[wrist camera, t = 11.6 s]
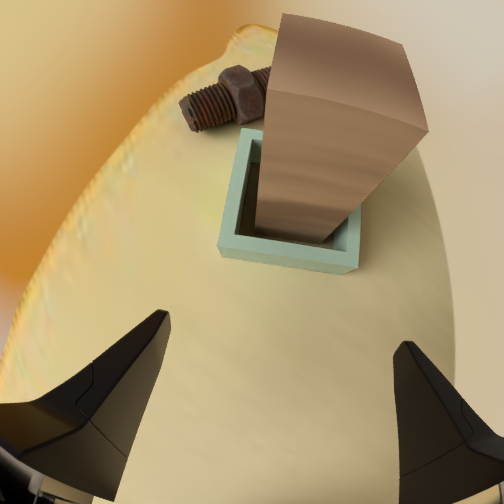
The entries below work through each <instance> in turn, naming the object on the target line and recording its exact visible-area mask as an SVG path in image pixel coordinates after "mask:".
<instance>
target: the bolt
mask: <svg viewBox="0 0 504 504" xmlns="http://www.w3.org/2000/svg"><path fill="white" fill-rule="evenodd" d="M270 71H271V66H270V67H266V68H265V69H261V70H257V71H256V70H255V71H253V72H250V71H249V70H248V69H246V68H245V67H243V66H240V65H237V66H233V67H230V68H227V69H225V70H224V71H223V72H222V73H221V74H220V75H219V77H218V82H219V83H217V84H213V85H212V86H208V88H207V87H205V88H204V90H203V89H200V92H199V91H197V90H196V93H193V92H192V94H191V95H190V94H188V95H187V97H186V96H185V97H183V99H182V100H180V101H179V105H180V107H181V109H182V113H183V115H184V117H185V119H186V121H187V123H188V125H189V127H190V129H191V131H195V132H197V133H198V131H199V130H200V131H202V130H203V129H204V130H206V128H207V127H208V128H210V127H211V125H212V126H213V127H214V125H215V124H217V125H218V124H219V122H220V123H223V121H225V122H226V121H227V119H228V120H231V118H233V119H234V121H235V122H236V123H238V124H240V125H242V124H245V123H248V122H250V121H253V120H256V119H258V118H259V117H261V116H262V115H263V113H264V107H265V105H266V94H267V86H268V81H269V76H270Z"/></svg>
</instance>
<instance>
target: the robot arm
mask: <svg viewBox="0 0 504 504" xmlns="http://www.w3.org/2000/svg"><path fill="white" fill-rule="evenodd" d="M170 331H171V322H170V314H169V312H168V311H166V310H161V309H158V310H156V311H155V312H154V313H152V314H151V315H150V316H149V317H147V318H146V319H145V320H144V321H142V322H141V323H140V324H138V325H137V326H136V327H135V328H133V329H132V330H131V331H130V332H128V333H127V334H126V335H125V336H123V337H122V338H121V339H120V340H118V341H117V342H116V343H115V344H113V345H112V346H111V347H110V348H108V349H107V350H106V351H105V352H103V353H102V354H101V355H100V356H98V357H97V358H96V359H95V360H93V361H92V363H90V364H88V365H87V366H86V367H85V368H83V369H82V370H81V371H79V372H78V373H77V374H76V375H74V376H73V377H71V378H70V379H68V380H67V381H65V382H64V383H62V384H61V385H59V386H58V387H56V388H54V389H53V390H51V391H50V392H48V393H46V394H45V395H43V396H42V397H40V398H38V399H36V400H33V401H30V402H22V403H1V404H0V504H92V501H93V498H94V496H96V497H99V498H102V499H105V500H109V501H112V502H114V500H115V497H116V494H117V490H118V487H119V484H120V481H121V478H122V475H123V472H124V469H125V466H126V463H127V460H128V459H127V458H128V456H129V454H130V451H131V448H132V445H133V442H134V439H135V436H136V433H137V431H138V428H139V425H140V422H141V419H142V417H143V414H144V411H145V409H146V406H147V403H148V400H149V398H150V395H151V392H152V390H153V387H154V385H155V382H156V379H157V377H158V374H159V372H160V369H161V366H162V362H163V358H164V354H165V350H166V347H167V343H168V339H169V335H170ZM393 368H394V394H395V403H396V413H397V425H398V440H399V466H400V479H399V504H504V437H501V436H499V435H497V434H496V433H494V432H493V431H492V429H491V428H490V427H489V426H488V425H487V424H486V423H485V422H484V421H483V420H482V419H481V418H480V417H479V416H478V415H477V414H476V413H475V412H474V410H473V409H472V408H471V407H470V406H469V405H468V404H467V402H466V401H465V400H464V399H463V398H462V397H461V395H460V394H459V393H458V392H457V390H456V389H455V388H454V387H453V386H452V385H451V383H450V382H449V381H448V380H447V379H446V378H445V376H444V375H443V374H442V373H441V372H440V371H439V370H438V368H437V367H436V366H435V365H434V364H433V363H432V362H431V361H430V360H429V358H428V357H427V356H426V355H425V354H424V353H423V352H422V351H421V350H420V348H419V347H418V346H417V345H416V344H415V343H414V342H413V341H403V342H402V343H401V344H400V346H399V347H398V349H397V350H396V351H395V353H394V356H393Z"/></svg>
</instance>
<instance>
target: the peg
mask: <svg viewBox="0 0 504 504" xmlns="http://www.w3.org/2000/svg"><path fill="white" fill-rule="evenodd" d="M428 132H429V131H428V126H427V122H426V118H425V114H424V110H423V106H422V103H421V99H420V95H419V92H418V89H417V85H416V82H415V79H414V76H413V73H412V70H411V67H410V65H409V62H408V59H407V56H406V54H405V51H404V48H403V46H402V44H399V43H396V42H394V41H391V40H389V39H386V38H383V37H380V36H377V35H374V34H371V33H368V32H365V31H362V30H358V29H355V28H351V27H348V26H344V25H340V24H336V23H332V22H328V21H323V20H319V19H314V18H308V17H303V16H297V15H291V14H284V13H283V15H282V19H281V23H280V28H279V33H278V37H277V42H276V47H275V52H274V57H273V62H272V66H271V71H270V76H269V81H268V86H267V94H266V105H265V117H264V128H263V139H262V151H261V162H260V173H259V185H258V196H257V207H256V218H255V230H254V234H256V235H263V236H269V237H275V238H281V239H288V240H294V241H300V242H306V243H312V244H318V245H319V244H320V243H321V242H322V241H323V240H324V239H325V238H326V237H327V236H328V235H330V234H331V233H332V232H333V231H334V230H335V229H336V228H337V227H338V226H339V225H340V224H341V223H342V222H343V221H344V220H345V219H346V218H347V217H348V216H349V215H350V214H351V213H352V212H353V211H354V210H355V209H356V208H357V207H358V206H359V205H360V204H361V203H362V202H363V201H364V200H365V199H366V198H367V197H368V196H369V195H370V194H371V193H372V191H373V190H374V189H375V188H376V187H377V186H378V185H379V184H380V183H381V182H382V181H383V180H384V179H385V178H386V177H387V176H388V175H389V174H390V173H391V172H392V171H393V170H394V169H395V168H396V166H397V165H398V164H399V163H400V162H401V161H402V160H403V159H404V158H405V157H406V156H407V155H408V154H409V153H410V152H411V150H412V149H413V148H414V147H415V146H416V145H417V144H418V143H419V142H420V141H421V140H422V138H423V137H424V136H425V135H426V134H427V133H428Z"/></svg>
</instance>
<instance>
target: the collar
mask: <svg viewBox="0 0 504 504" xmlns="http://www.w3.org/2000/svg"><path fill="white" fill-rule="evenodd" d="M262 139H263V130H255V129H247V128H241V133H240V137H239V142H238V146H237V151H236V155H235V160H234V165H233V169H232V174H231V179H230V184H229V188H228V193H227V198H226V203H225V208H224V213H223V218H222V224H221V229H220V234H219V239H218V245H217V247H218V249H219V251H220V253H221V256H222V257H226V258H233V259H239V260H246V261H252V262H259V263H265V264H272V265H278V266H285V267H292V268H298V269H305V270H312V271H318V272H325V273H332V274H339V275H342V274H345V273H347V272H350V271H352V270H354V269H357V268H358V263H359V248H360V227H361V204H360V205H359V206H358V207H357V208H356V209H355V210H354V211H353V212H352V213H351V214H350V215H349V216H348V217H347V218H346V219H345V220H344V221H343V222H342V223H341V224H340V225H339V226H338V227H337V228H336V229H335V230H334V239H333V250H331V249H325V248H319V247H312V246H306V245H300V244H294V243H287V242H281V241H275V240H268V239H262V238H255V237H249V236H242V235H238V234H239V228H240V222H241V216H242V211H243V205H244V199H245V194H246V188H247V183H248V177H249V172H250V166H251V162H255V163H260V162H261V151H262Z"/></svg>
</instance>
